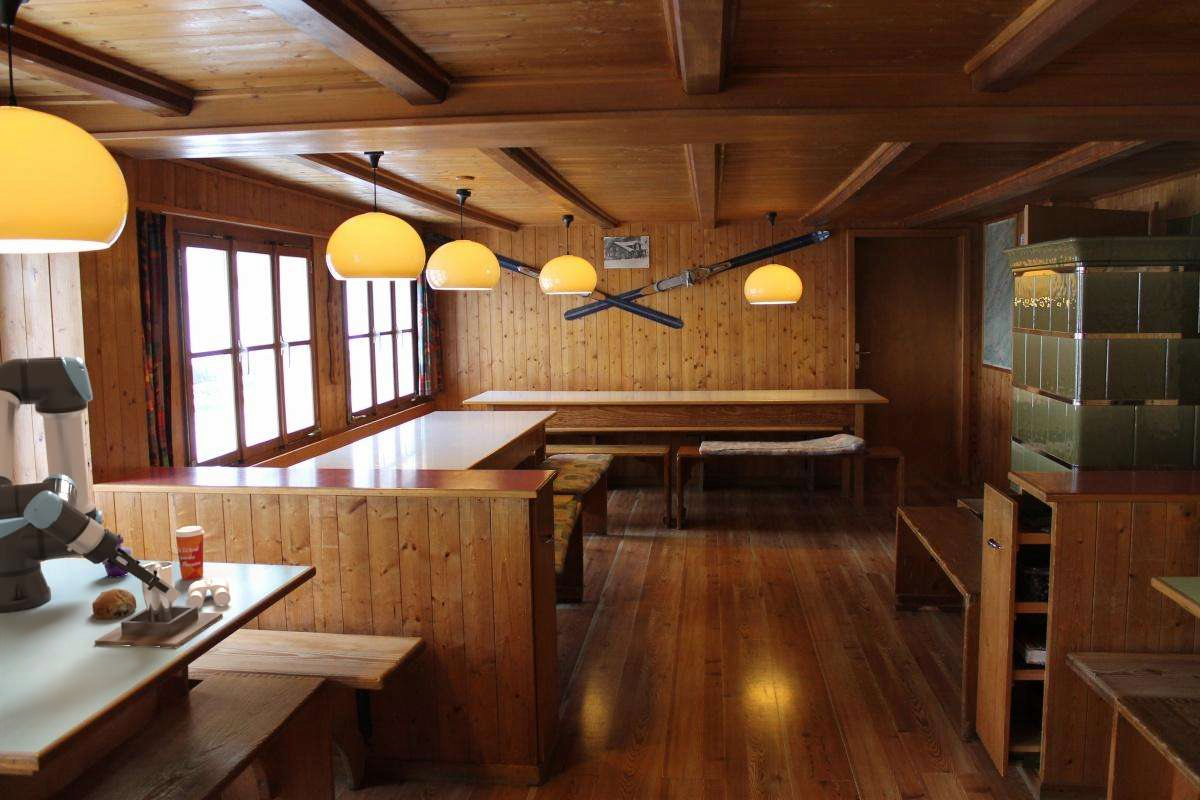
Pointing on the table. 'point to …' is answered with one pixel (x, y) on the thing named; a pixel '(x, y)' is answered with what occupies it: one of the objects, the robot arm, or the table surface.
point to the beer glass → (155, 601)
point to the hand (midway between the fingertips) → (167, 590)
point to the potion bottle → (111, 569)
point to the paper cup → (190, 551)
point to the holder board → (160, 628)
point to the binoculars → (216, 587)
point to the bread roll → (114, 604)
